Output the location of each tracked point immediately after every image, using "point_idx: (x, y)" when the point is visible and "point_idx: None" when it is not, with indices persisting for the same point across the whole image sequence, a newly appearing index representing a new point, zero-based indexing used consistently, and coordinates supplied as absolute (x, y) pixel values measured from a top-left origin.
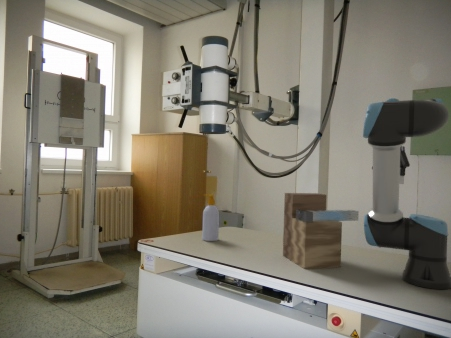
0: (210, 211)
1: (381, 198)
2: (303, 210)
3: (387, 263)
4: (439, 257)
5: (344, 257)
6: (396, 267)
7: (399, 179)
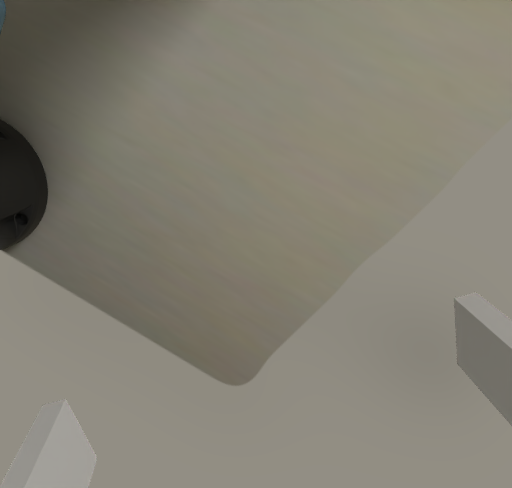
0: None
1: None
2: None
3: (193, 168)
4: None
5: (274, 14)
6: (141, 174)
7: (27, 458)
